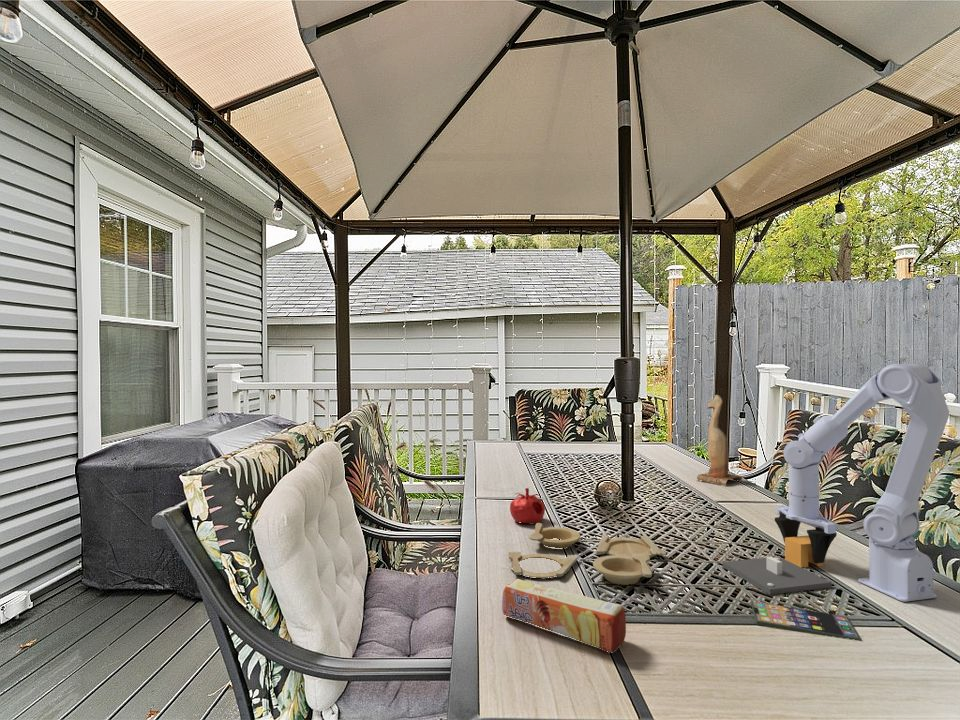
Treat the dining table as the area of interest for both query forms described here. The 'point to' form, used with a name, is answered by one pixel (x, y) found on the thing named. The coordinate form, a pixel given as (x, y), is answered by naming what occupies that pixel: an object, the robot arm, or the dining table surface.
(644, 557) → the tableware set
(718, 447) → the bird sculpture
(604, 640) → the snack package
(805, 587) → the plate
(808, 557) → the orange block
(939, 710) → the dining table surface
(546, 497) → the dining table surface
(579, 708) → the dining table surface
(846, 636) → the smartphone
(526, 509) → the pomegranate
